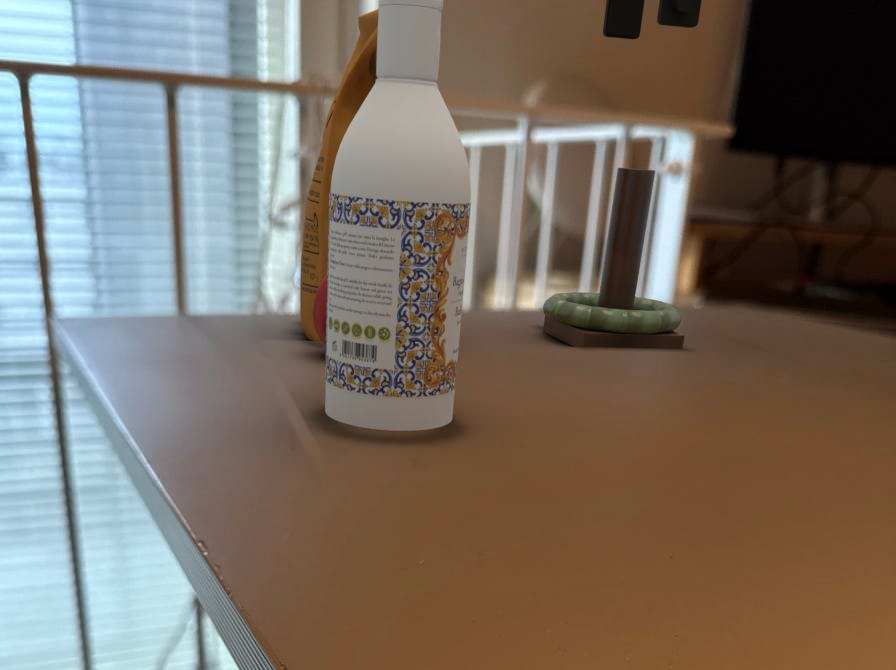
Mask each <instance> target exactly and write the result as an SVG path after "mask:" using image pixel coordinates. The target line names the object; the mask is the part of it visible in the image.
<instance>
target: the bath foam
mask: <svg viewBox="0 0 896 670" xmlns="http://www.w3.org/2000/svg"><path fill="white" fill-rule="evenodd" d="M443 8H444V0H378V9H379V12H378V37H377V65H376V75H377V77H378V79H376V82H375V84H374V86H373V88H372V89H371V91H370V92H369V94H368V96H367V97H366V99H365V101H364V102H363V104H362V105H361V107H360V109H359V110H358V112H357V114H356V115H355V117H354V119H353V120H352V122H351V124H350V126H349V127H348V129H347V131H346V133H345V135H344V137H343V140H342V142H341V144H340V147H339V150H338V153H337V156H336V160H335V163H334V168H333V173H332V180H331V191H330V193H329V234H328V277H327V321H326V346H325V363H324V365H325V368H324V369H325V370H324V371H325V372H324V374H325V375H324V380H325V398H324V399H325V400H324V412H325V414H326V416H328V417H329V418H330V419H332V420H334V421H337V422H339V423H342V424H345V425H349V426H353V427H358V428H363V429H364V428H365V429H371V430H379V431H393V432H414V431H415V432H417V431H425V430H433V429H438V428H441V427H444V426H446V425H449V424H451V422H452V421H453V416H454V405H455V404H454V403H455V392H456V383H457V371H458V370H457V369H458V361H459V348H460V337H461V324H462V314H463V313H462V312H463V303H464V288H465V277H466V267H467V266H466V264H467V253H468V241H469V229H470V218H471V208H472V207H471V205H472V202H471V194H472V193H471V192H472V191H471V190H472V189H471V176H470V169H469V161H468V157H467V154H466V150H465V147H464V144H463V142H462V139H461V136H460V134H459V133H460V132H459V131H458V129H457V125H456V124H455V121H454V119H453V117H452V115H451V112H450V111H449V109H448V107H447V105H446V102H445V100H444V98H443V96H442V93H441V92H440V90H439V84H438V83H437V82H438V79H439V71H440V69H439V68H440V58H441V57H440V56H441V37H442V35H441V30H442V29H441V28H442V16H443V15H442V13H443Z"/></svg>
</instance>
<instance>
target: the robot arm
mask: <svg viewBox="0 0 896 670" xmlns="http://www.w3.org/2000/svg"><path fill="white" fill-rule="evenodd" d="M702 2H703V0H659V2H658V10H657V16H656V21H657V24H658V25H659V26H665V27H675V28H686V29H692V28H695V27H697V26H698V24H699V20H700V14H701V8H702ZM644 8H645V0H606V1H605V8H604V9H605V11H604V19H603V26H602V36H604V37H605V38H611V39H612V38H613V39H621V40H637V39H639V38H640V35H641V31H642V24H643V23H642V22H643V14H644Z"/></svg>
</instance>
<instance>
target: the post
mask: <svg viewBox="0 0 896 670" xmlns="http://www.w3.org/2000/svg"><path fill="white" fill-rule="evenodd" d="M616 170H617V171H616V177H615V182H614V189H613V197H612V203H611V210H610V218H609V224H608V232H607V237H606V238H607V239H606V245H605V252H604V259H603V266H602V273H601V278H600V279H601V280H600V286H599V292H598V293H599V299H598V306H597V307H602V308H612V309H621V310H633V307H634V300H635V297H636V293H637V287H638V282H639V281H638V280H639V275H640V270H641V264H642V263H641V262H642V257H643V250H644V244H645V237H646V232H647V226H648V220H649V214H650V208H651V200H652V195H653V188H654V183H655V176H656V170H655V169H644V168H633V167H632V168H631V167H630V168H629V167H617V169H616ZM542 332H543V333H545V334H548V335H550V336H551V337H553V338H555V339H557V340H559V341H561V342H563V343H565V344H567V345H569V346H570V347H573V348H600V349H603V348H604V349H605V348H606V349H610V348H611V349H647V350H649V349H650V350H651V349H652V350H683V348H684V342H685V336H686V335H684V334H682V333H680V332H677V331H675V330H674V331H671V332H663V333H656V334H634V333H615V332H607V331H598V330H589V329H584V328H579V327H574V326H569V325H565V324H561V323H558V322H556V321H554V320H552V319H550V318H548V317H547V316H546V315H545V314H544V320H543V329H542Z"/></svg>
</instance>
